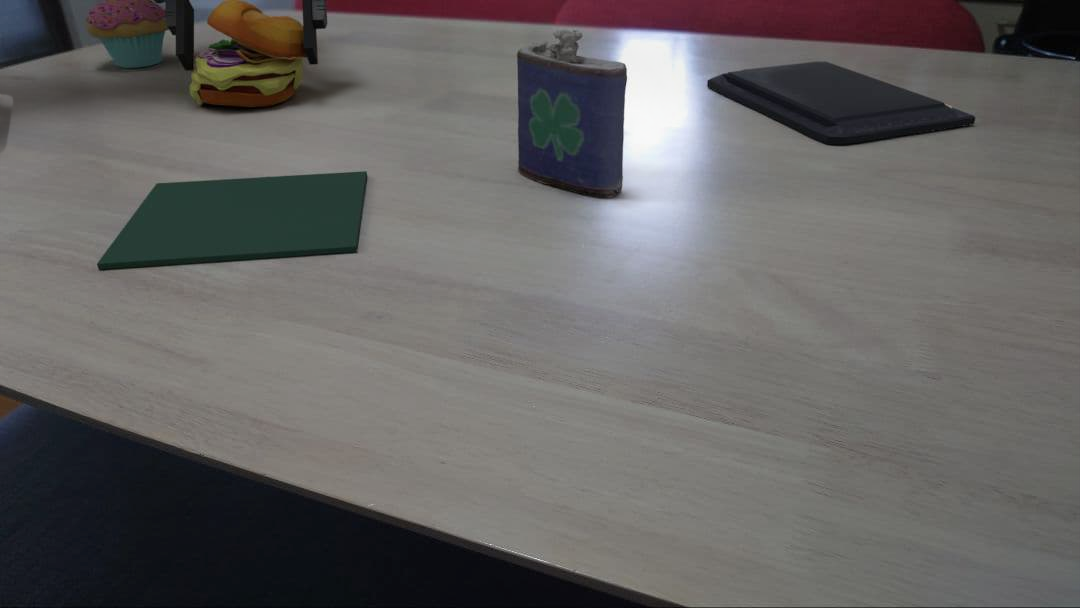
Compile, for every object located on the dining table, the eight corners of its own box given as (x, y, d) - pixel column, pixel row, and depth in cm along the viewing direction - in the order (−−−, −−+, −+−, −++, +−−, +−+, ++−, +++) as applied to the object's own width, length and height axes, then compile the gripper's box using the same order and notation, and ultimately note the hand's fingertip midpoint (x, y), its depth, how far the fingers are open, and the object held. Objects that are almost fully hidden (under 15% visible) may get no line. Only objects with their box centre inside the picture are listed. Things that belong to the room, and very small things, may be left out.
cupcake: (128, 76, 88) (96, -45, 82) (81, 66, 92) (47, -49, 86) (195, 59, 94) (170, -54, 88) (148, 51, 98) (121, -58, 92)
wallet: (705, 66, 81) (836, 53, 85) (703, 85, 82) (832, 71, 86) (828, 124, 64) (983, 105, 68) (824, 148, 65) (977, 127, 69)
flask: (629, 191, 58) (635, 35, 52) (603, 203, 56) (607, 43, 51) (533, 162, 63) (530, 17, 58) (507, 172, 61) (501, 24, 56)
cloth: (98, 269, 48) (96, 263, 48) (157, 188, 59) (156, 183, 59) (356, 252, 50) (356, 246, 50) (367, 176, 61) (366, 171, 61)
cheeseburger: (183, 92, 81) (186, -14, 78) (292, 103, 87) (301, 5, 83) (194, 117, 73) (198, 1, 70) (314, 128, 79) (324, 20, 75)
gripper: (367, -112, 86) (379, 74, 80) (138, -106, 83) (133, 87, 78) (358, -171, 79) (370, 29, 73) (106, -166, 76) (99, 42, 71)
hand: (248, 59), depth 75 cm, fingers closed on cheeseburger, 11 cm apart
